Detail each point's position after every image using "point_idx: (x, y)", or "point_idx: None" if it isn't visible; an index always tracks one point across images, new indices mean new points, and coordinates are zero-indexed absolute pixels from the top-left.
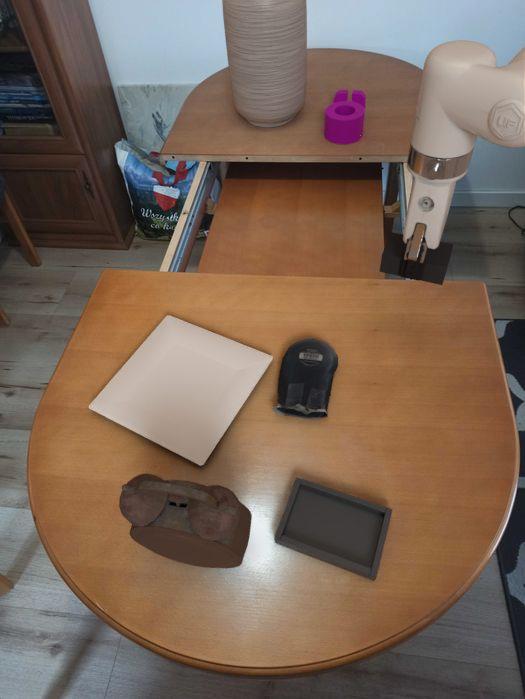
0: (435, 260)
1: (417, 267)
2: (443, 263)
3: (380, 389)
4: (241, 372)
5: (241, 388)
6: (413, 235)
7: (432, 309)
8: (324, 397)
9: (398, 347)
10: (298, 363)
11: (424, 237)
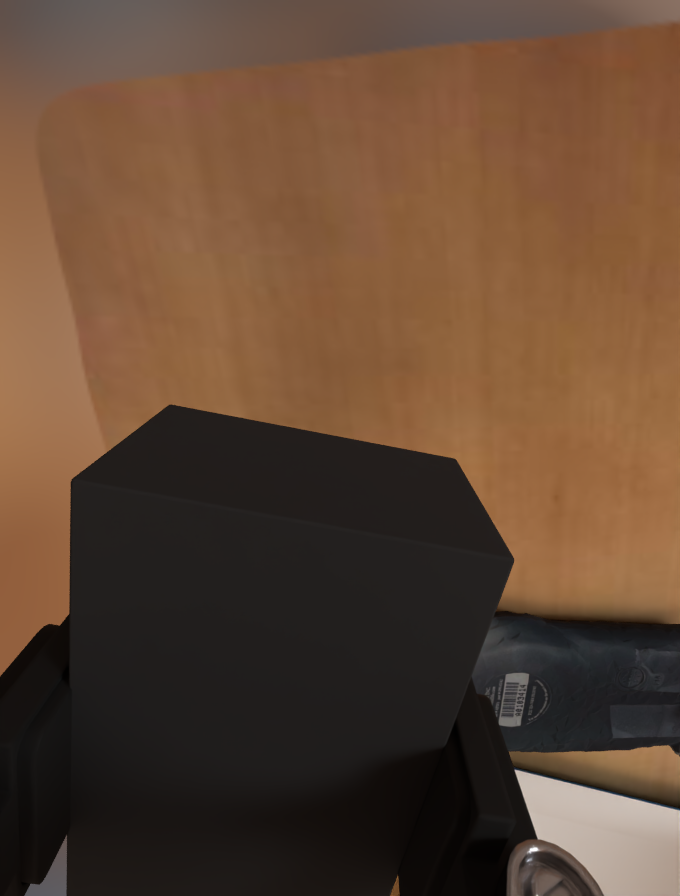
0: (400, 664)
1: (523, 805)
2: (445, 596)
3: (579, 481)
4: (539, 809)
5: (600, 810)
6: (62, 831)
7: (200, 314)
8: (659, 651)
9: (404, 433)
10: (539, 724)
11: (62, 758)
